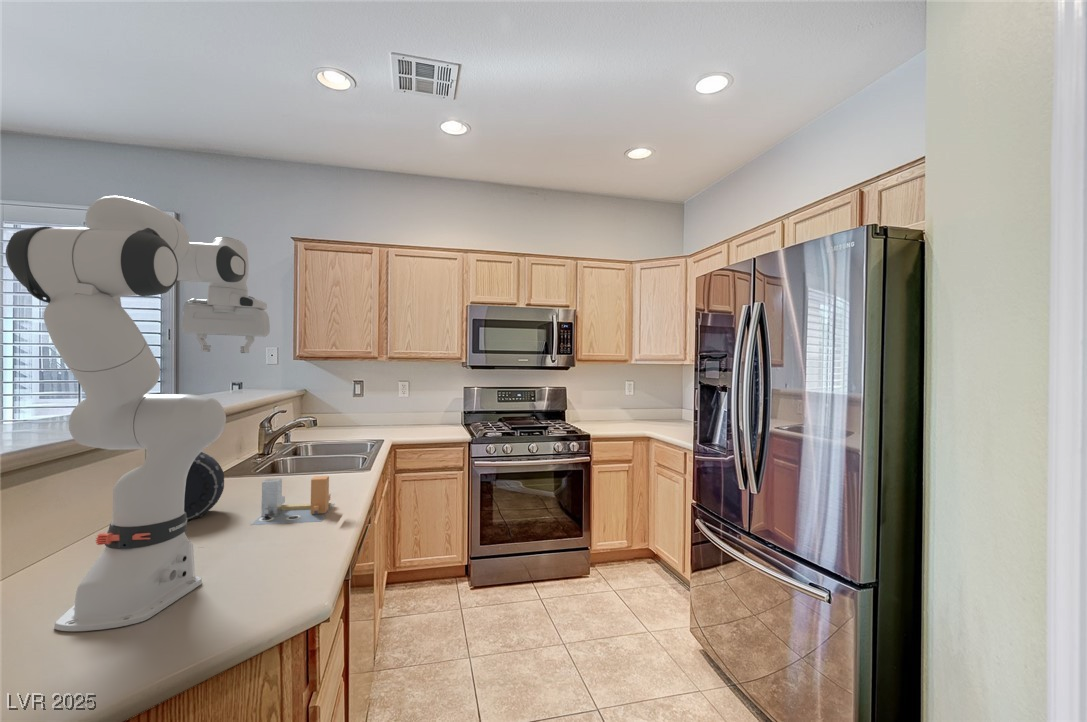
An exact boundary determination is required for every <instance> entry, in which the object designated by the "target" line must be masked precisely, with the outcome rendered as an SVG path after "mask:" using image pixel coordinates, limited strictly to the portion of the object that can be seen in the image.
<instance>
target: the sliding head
mask: <svg viewBox="0 0 1087 722" xmlns="http://www.w3.org/2000/svg"><path fill="white" fill-rule="evenodd" d="M329 492H330V476H329V475H320V476H319V475H317V476H316V475H315V476H314V477H312V478H311V479H310V504H311V514H315V515H316V514H319V513H326V512H327V510H328V505H329V503H330V500H331V493H329Z"/></svg>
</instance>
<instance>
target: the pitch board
mask: <svg viewBox="0 0 1087 722" xmlns="http://www.w3.org/2000/svg"><path fill="white" fill-rule="evenodd" d="M334 506H335V503H332V502H329V505H328V510H327V512H326V513H319V514H316V515H315V514H311V503H299V504H298V503H297V504H282V505H281V513H280V514H279V515H278V516H277V517H268V518H265V517H261V515H260V516H259V517H258V518H257V519H256V520H254V521H253V522H252V523H251V524H250V526H260V525H276V524H277V525H280V524H281V525H282V524H297V523H298V524H299V523H302V524H303V523H316V522H317V523H318V522H320V523H321V522H323V520H324V519H325V518H326V516H327V515H328V514H329V513H330V511H331V510H332V509H333V507H334Z"/></svg>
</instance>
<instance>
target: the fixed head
mask: <svg viewBox="0 0 1087 722" xmlns="http://www.w3.org/2000/svg"><path fill="white" fill-rule="evenodd" d="M282 492H283V478H282V477H281V478H267V479H266V478H265V480H263V481H262V482H261V512H260V513H261V515H260V516H261V517H265V518H268V517H277V516H278V515H279V514H280V513H281V505H284V504H285V503H286V496H283V495H282V494H283V493H282Z"/></svg>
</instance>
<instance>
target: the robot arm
mask: <svg viewBox="0 0 1087 722" xmlns="http://www.w3.org/2000/svg"><path fill="white" fill-rule="evenodd" d="M84 221H85V226H86V227H52V226H37V227H28V228H24V229H22V230H18V231H16V232H15V233H13V234H12V235H11V237H10V238H9V241H8V242H7V245H6V248H5V260H6V261H5V262H6V263H7V266H8V269H10V271H11V273H12V275H13V276H14V277H15V279H16V280H17V281H18V282H19V283H20V284H21V285H22V286H23V287H25V288H26V291H28V293H29V294H30V295H31V296H33V297H34V298H36V299H37V300H39V301H41V302H44V303H46V304H47V303H48V304H47V305H46V306H45V308H44V310H43V322H44V324H45V326H46V330H47V332H48V334H49V337H50V340H51V341H52V344H53V345H54V347H55V349H56V351H57V352H58V354H59V355H60V357H61V359H62V360H63V362H64V364H65V365H66V366H67V368H68V369H69V370H70V372H71V373H72V375H73V376H74V378H75V379H76V380H77V382H78V383H79V385H80V387H81V388H82V391H83V392H84V394H85V399H83V400H81V401H80V402H78V404H77V405H75V407H74V408H73V410H72V411H71V413H70V416H69V419H68V430H69V433H70V435H71V437H72V438H73V440H74V441H75V442H76V444H78V445H81V446H85V447H90V448H96V449H103V450H110V451H111V450H113V451H114V450H146V456H145V460H144V462H143V463H142V465H140V466H138V467H135V468H133V469H132V470H130V471H127V472H126V473H124V474H123V475H122V476H121V477H120V478H118V480H117V481H116V483H115V484H114V486H113V491H112V522H110V524H109V527H108V530H107V532H105V533H103V532H101V533H98V535H97V536H96V537H95V539H96V540H95V544H96V545H97V546H101V545H104V546H105V547H104V549H103V550H102V552H101V553H100V555H99V556H98V557H97V559H96V560H95V561H94V563H93V564H92V566H91V567H90V568H89V570H88V571H87V573H86V574H85V575H84V577H83V578H82V580H81V581H80V582H79V584H78V585H77V588H76V591H75V592H76V593H75V600H74V604H73V605H72V606H71V607H70V608H69V609H68V610H67V611H66V612H65V613H63V614H62V615H61V616H60V617H59V618H58V619H57V620H56V621H55V622H54V627H53V628H54V629H55V630H57V631H61V632H88V631H98V630H99V631H100V630H107V629H114V628H120V627H125V626H131V625H134V624H138V623H141V622H145V621H147V620H149V619H151V618H152V617H154V616H155V615H156V614H158V613H160V612H162V610H164V609H166V608H168V607H169V606H170V605H172V604H173V603H175V602H176V601H178V600H179V599H181V598H182V597H184V596H186V595H187V594H189V593H190V592H192V591H193V590H195V589H196V588H197V587H199V586H201V585H202V583H203V579H202V577H201V576H198V575H196V568H195V554H194V551H195V550H194V544H193V542H192V541H191V540H189V538H188V537H187V534H186V533H185V532H186V531H187V524H188V521H187V516H186V512H185V511H184V499H185V487H186V479H187V475H188V472H189V469H190V467H191V465H192V463H193V461H194V460H195V458H196V457H197V456H198V455H199V453H200V452H203V451H204V450H205V449H206V448H208V447H209V446H210V445H211V444H212V445H213V443H215V442H216V441H217V440H218V439H219V438H220V437H221V435H222V434H223V432H224V430H225V428H226V423H227V415H226V412H225V409H224V407H223V405H222V404H221V402H219V401H218V400H217V399H216V398H214V397H213V398H212V397H208V396H203V395H197V394H192V393H189V394H188V393H187V394H186V393H150V391H151V390H153V388H154V387H156V385H157V384H158V381H159V380H160V376H161V367H160V364H159V362H158V361H157V359H156V357H155V355H154V353H153V351H152V349H151V348H150V346H149V344H148V343H147V342H148V341H147V340H146V339H145V336H144V335H143V334H142V331H141V330H140V329H139V327H138V326H137V324H136V322H135V321H134V320H133V319H132V317H131V315H130V314H129V313H127V311H126V310H125V309H124V307H123V306H122V302H121V301H122V299H121V297H126V296H128V297H129V296H139V297H152V296H159V295H162V294H166V293H168V292H169V291H170V290H172V287H174V286H175V285H176V283H177V282H194V283H208V285H207V299H206V298H205V299H202V298H201V299H199V298H198V299H196V298H191V299H189V300H186V301H185V302H184V303H183V305H182V306H183V307H182V311H183V314H182V319H181V323H180V329H181V331H182V332H183V333H184V334H187V335H188V334H190V335H196V340H197V341H198V343H199V344H200V351H201V353H202V352H203V353H204V352H211V347H212V345H209V344H207V342H206V340H205V339H207V338H208V337H207V335H214V336H234V337H235V336H237V337H245V338H244V339H245V341H246V342H245V344H244V345H243V346H242V345H241V346H240V351H239V352H240V353H241V354H249V353H250V348H251V346H252V344H253V343H254V342H255V337H259V338H260V337H261V338H262V337H263V338H266V337H268V335H269V334H270V330H271V329H270V317H269V313H268V312H267V311H266V310H267V308H268V306H267V303H266V302H264V301H262V300H260V299H258V298H255V297H253V296H250V295H249V296H248V291H249V290H248V286H247V280H248V278H249V253H248V248H247V245H246V244H245V243H244V242H243V241H241V240H239V239H235V238H232V237H228V236H219V237H218V236H217V237H215V238H214V239H213V241H212V242H210V243H207V242H195V241H194V242H193V241H190V235H189V232H188V231H187V229H186V227H185V226H184V225H183V224H182V223H181V222H180V221H179V220H178V219H177V218H176V217H174V216H172V215H171V214H169V213H167V212H165V211H163V210H161V209H159V208H157V207H155V206H154V205H151V204H148V203H146V202H144V201H141V200H136V199H133V198H129V197H125V196H120V195H119V196H118V195H109V196H103V197H101V198H99V199H97V200H95V201H94V202H92V203H91V205H90V206H89V207H88V208H87V210H86V213H85V220H84Z"/></svg>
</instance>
